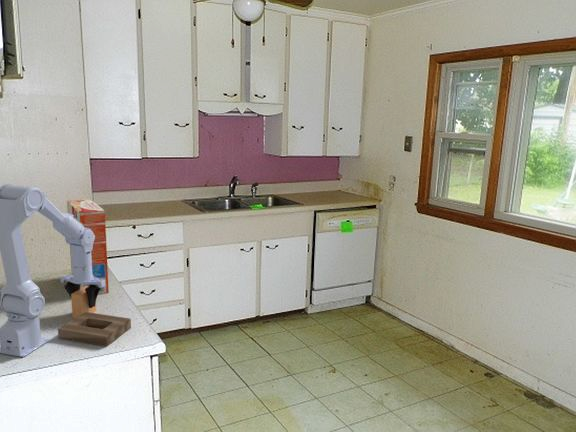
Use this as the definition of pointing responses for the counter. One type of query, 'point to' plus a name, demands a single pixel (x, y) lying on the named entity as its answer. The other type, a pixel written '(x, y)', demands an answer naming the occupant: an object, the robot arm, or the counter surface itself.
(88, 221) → the cereal box
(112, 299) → the counter surface
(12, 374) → the counter surface
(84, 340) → the keyed socket
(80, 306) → the keyed peg
